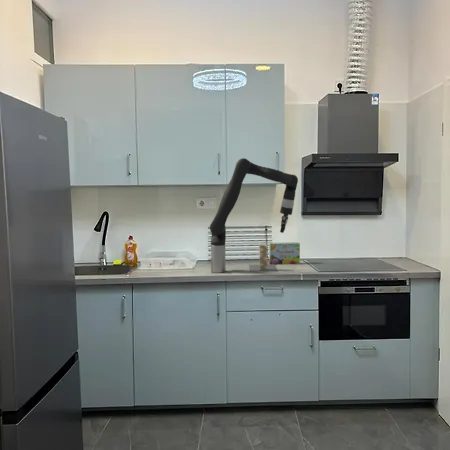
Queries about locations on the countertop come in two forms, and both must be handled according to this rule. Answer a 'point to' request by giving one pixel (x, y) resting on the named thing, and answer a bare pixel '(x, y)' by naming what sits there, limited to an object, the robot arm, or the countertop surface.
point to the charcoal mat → (270, 269)
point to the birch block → (263, 257)
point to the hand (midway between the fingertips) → (282, 231)
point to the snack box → (284, 253)
